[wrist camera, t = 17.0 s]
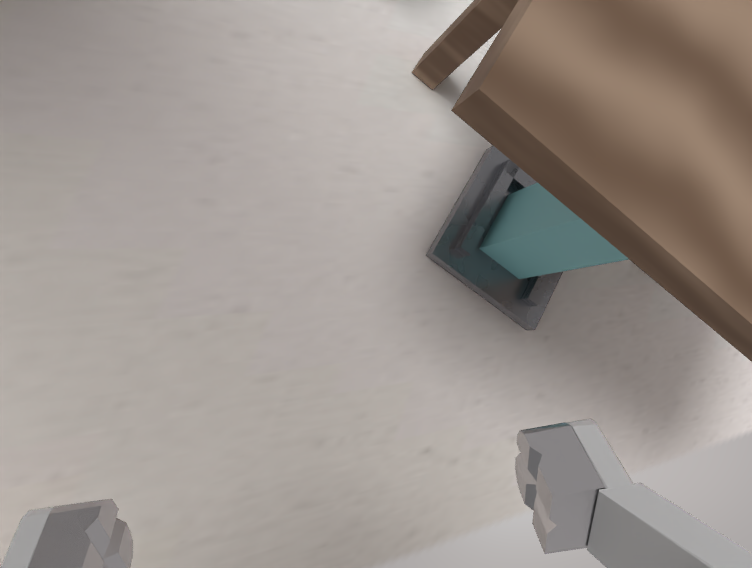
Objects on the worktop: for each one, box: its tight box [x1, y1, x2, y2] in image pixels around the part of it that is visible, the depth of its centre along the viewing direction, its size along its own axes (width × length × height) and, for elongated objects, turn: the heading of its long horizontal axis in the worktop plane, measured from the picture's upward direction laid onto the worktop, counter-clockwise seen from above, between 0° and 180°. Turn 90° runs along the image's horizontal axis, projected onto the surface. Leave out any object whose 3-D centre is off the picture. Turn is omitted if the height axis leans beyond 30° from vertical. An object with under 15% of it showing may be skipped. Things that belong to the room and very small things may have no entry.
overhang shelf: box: [412, 0, 752, 361], centre depth 35 cm, size 15×26×20 cm, turn 59°
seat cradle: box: [426, 146, 563, 330], centre depth 43 cm, size 10×10×2 cm
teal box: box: [479, 183, 628, 279], centre depth 38 cm, size 5×4×12 cm
